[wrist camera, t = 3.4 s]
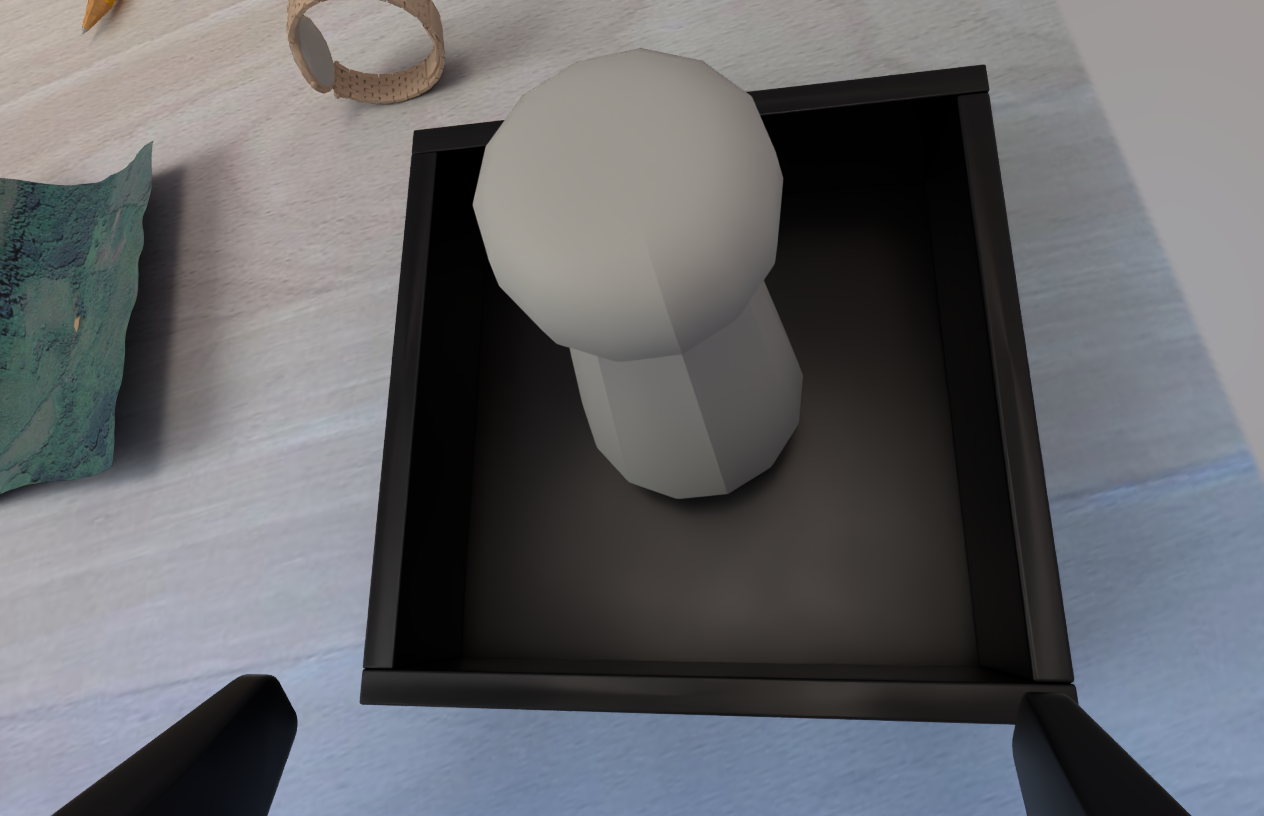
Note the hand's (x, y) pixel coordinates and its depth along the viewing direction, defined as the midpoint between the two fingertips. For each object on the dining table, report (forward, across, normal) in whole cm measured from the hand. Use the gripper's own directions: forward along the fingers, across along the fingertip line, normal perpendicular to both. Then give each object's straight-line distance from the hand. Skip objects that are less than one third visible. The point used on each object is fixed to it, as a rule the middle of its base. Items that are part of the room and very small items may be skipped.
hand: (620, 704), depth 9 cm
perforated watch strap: (+23, +11, -5) cm, 26 cm away
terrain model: (+17, +23, +1) cm, 28 cm away
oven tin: (+13, 0, +4) cm, 14 cm away
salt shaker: (+13, 0, +4) cm, 14 cm away
